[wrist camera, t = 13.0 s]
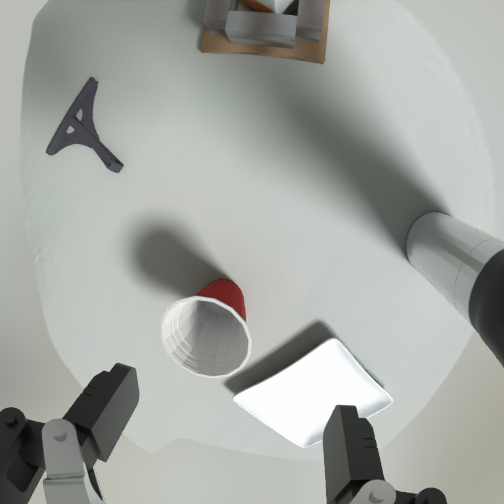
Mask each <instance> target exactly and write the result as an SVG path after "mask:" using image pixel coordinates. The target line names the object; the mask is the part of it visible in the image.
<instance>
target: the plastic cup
mask: <svg viewBox="0 0 504 504" xmlns="http://www.w3.org/2000/svg"><path fill="white" fill-rule="evenodd" d="M160 332H161V341H162V343H163V345H164V347H165V349H166V351H167V353H168V355H169V356H170V357H171V358H172V359H173V360H174V361H175V362H176V363H177V364H178V365H179V366H180V367H181V368H183V369H185V370H187V371H189V372H191V373H192V374H194V375H197V376H202V377H207V378H212V379H213V378H221V377H228V376H230V375H232V374H234V373H235V372H237V371H239V370H241V369H242V368H243V367H244V365H245V364H246V362H247V361H248V359H249V357H250V356H251V345H252V338H251V336H250V333H249V330H248V328H247V325H246V313H245V305H244V297H243V294H242V292H241V289H240V288H239V287H238V286H237V285H236V284H235V283H233V282H231V281H229V280H222V279H220V280H217V281H213V282H211V283H210V284H209V285H207V286H206V287H204V288H203V289H202V290H201V291H199V292H198V293H197V294H196V295H194V296H193V297H189V298H185V299H181V300H177V301H176V302H175V303H174V304H173V305H172V306H170V307H169V308H168V309H167V310H166V311H165V313H164V316H163V318H162V321H161V323H160Z"/></svg>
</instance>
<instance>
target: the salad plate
mask: <svg viewBox="0 0 504 504" xmlns="http://www.w3.org/2000/svg"><path fill="white" fill-rule="evenodd" d="M233 400H234V401H235V402H236V403H237V404H238V405H239V406H241V407H242V408H243V409H244V410H246V411H247V412H249V413H250V414H251V415H253V416H254V417H256V418H257V419H258V420H260V421H261V422H263V423H264V424H266V425H267V426H269V427H270V428H272V429H273V430H275V431H276V432H278V433H279V434H281V435H282V436H284V437H285V438H287V439H288V440H290V441H291V442H293V443H294V444H296V445H298V446H300V447H302V448H306V447H309V446H312V445H314V444H317V443H319V442H321V441H323V432H324V428H325V426H326V424H327V422H328V420H329V418H330V416H331V414H332V412H333V410H334V408H335V406H336V405H355V406H356V408H357V412H358V416H359V418H366V419H367V418H369V417H371V416H373V415H374V414H376V413H378V412H380V411H381V410H383V409H385V408H386V407H388V406H389V405H390V404H392V402H393V398H392V397H391V396H390V395H389V394H388V393H387V392H386V391H385V390H384V389H383V388H382V387H381V386H380V385H379V384H378V383H377V382H376V381H375V380H373V379H372V377H371V376H370V375H369V374H368V373H367V372H366V371H365V370H364V369H363V368H362V366H361V365H360V364H359V363H358V362H357V361H356V359H355V358H354V357H353V356H352V354H351V353H350V352H349V351H348V350H347V348H346V347H345V346H344V345H343V344H342V343H341V342H340V341H339V340H338V339H336V338H329V339H327V340H325V341H324V342H323V343H321V344H320V345H318V346H317V347H316V348H314V349H313V350H312V351H310V352H309V353H307V354H306V355H304V356H303V357H302V358H300V359H299V360H297V361H296V362H294V363H292V364H291V365H289V366H288V367H286V368H284V369H283V370H281V371H279V372H278V373H276V374H274V375H272V376H270V377H269V378H267V379H265V380H263V381H261V382H259V383H257V384H255V385H253V386H251V387H249V388H246V389H244V390H242V391H240V392H239V393H237V394H236V395H234V397H233Z"/></svg>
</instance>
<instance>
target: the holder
mask: <svg viewBox="0 0 504 504" xmlns="http://www.w3.org/2000/svg"><path fill="white" fill-rule="evenodd" d="M329 6H330V0H297V8H296V9H295V10H294V11H292V12H291V13H289V14H288V15H285V14H275V13H264V12H258V11H257V10H255V9H254V8H252V7H251V6H249V5H247V4H246V3H244V1H243V0H207V1H206V5H205V10H204V14H203V18H202V21H203V23H204V25H205V28H204V33H203V38H202V43H201V48H200V50H201V51H202V52H215V53H240V54H254V55H265V56H274V57H282V58H290V59H297V60H303V61H309V62H315V63H320V64H323V63H324V60H325V51H326V41H327V30H328V18H329Z"/></svg>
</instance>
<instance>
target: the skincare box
mask: <svg viewBox="0 0 504 504" xmlns="http://www.w3.org/2000/svg"><path fill="white" fill-rule="evenodd" d="M243 1H244V3H246V4H247V5H249V6H251V7H252V8H254V9H255V10H257V11H258V12H264V13H275V14H285V15H288V14H289V13H291V12H292V11H294V10H295V9H296V8H297V0H243Z"/></svg>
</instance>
